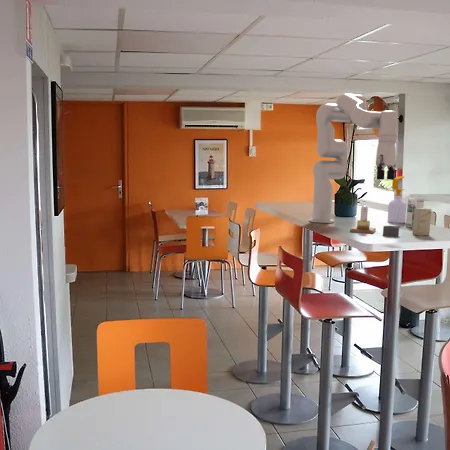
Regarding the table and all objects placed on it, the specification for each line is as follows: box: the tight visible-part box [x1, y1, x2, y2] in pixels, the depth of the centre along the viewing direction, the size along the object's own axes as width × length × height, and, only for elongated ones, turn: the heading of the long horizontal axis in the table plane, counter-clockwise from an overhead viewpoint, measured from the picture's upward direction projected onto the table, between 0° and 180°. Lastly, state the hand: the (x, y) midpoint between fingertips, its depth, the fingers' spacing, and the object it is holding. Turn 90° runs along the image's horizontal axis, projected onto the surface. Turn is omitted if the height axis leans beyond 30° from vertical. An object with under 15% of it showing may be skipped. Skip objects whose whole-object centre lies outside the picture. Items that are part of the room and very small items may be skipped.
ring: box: [382, 225, 400, 238], centre depth 246 cm, size 6×6×4 cm
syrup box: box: [405, 197, 425, 229], centre depth 278 cm, size 6×6×14 cm
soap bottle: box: [387, 175, 407, 224], centre depth 297 cm, size 9×9×25 cm
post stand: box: [349, 205, 376, 235], centre depth 256 cm, size 10×10×12 cm
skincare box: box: [411, 207, 432, 237], centre depth 251 cm, size 6×4×12 cm
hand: (385, 179), depth 242 cm, fingers open, 9 cm apart
